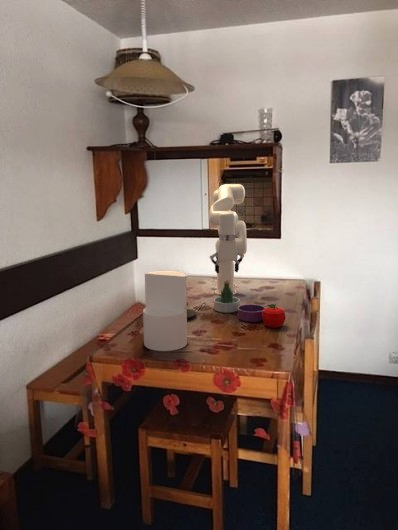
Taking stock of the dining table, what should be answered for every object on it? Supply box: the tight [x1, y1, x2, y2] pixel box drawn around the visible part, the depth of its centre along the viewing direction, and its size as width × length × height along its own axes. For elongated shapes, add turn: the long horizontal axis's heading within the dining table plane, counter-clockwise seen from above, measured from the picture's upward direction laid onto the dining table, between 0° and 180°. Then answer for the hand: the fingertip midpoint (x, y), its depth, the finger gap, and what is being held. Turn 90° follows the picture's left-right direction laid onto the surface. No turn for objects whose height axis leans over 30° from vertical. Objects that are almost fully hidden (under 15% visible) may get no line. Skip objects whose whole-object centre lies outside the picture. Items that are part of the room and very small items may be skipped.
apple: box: [262, 303, 287, 329], centre depth 203 cm, size 11×11×10 cm
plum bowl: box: [237, 303, 266, 323], centre depth 214 cm, size 13×13×5 cm
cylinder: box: [142, 270, 188, 352], centre depth 181 cm, size 17×17×28 cm
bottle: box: [220, 281, 234, 303], centre depth 228 cm, size 6×6×14 cm
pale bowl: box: [213, 296, 241, 314], centre depth 229 cm, size 13×13×5 cm
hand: (226, 272), depth 225 cm, fingers open, 9 cm apart
